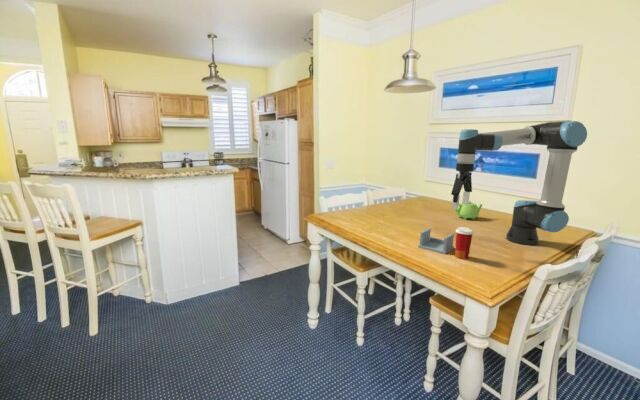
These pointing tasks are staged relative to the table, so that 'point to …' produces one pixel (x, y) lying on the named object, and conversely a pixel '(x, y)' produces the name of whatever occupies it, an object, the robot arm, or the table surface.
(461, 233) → the paper cup
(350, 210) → the table surface
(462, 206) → the teapot
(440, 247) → the holder
